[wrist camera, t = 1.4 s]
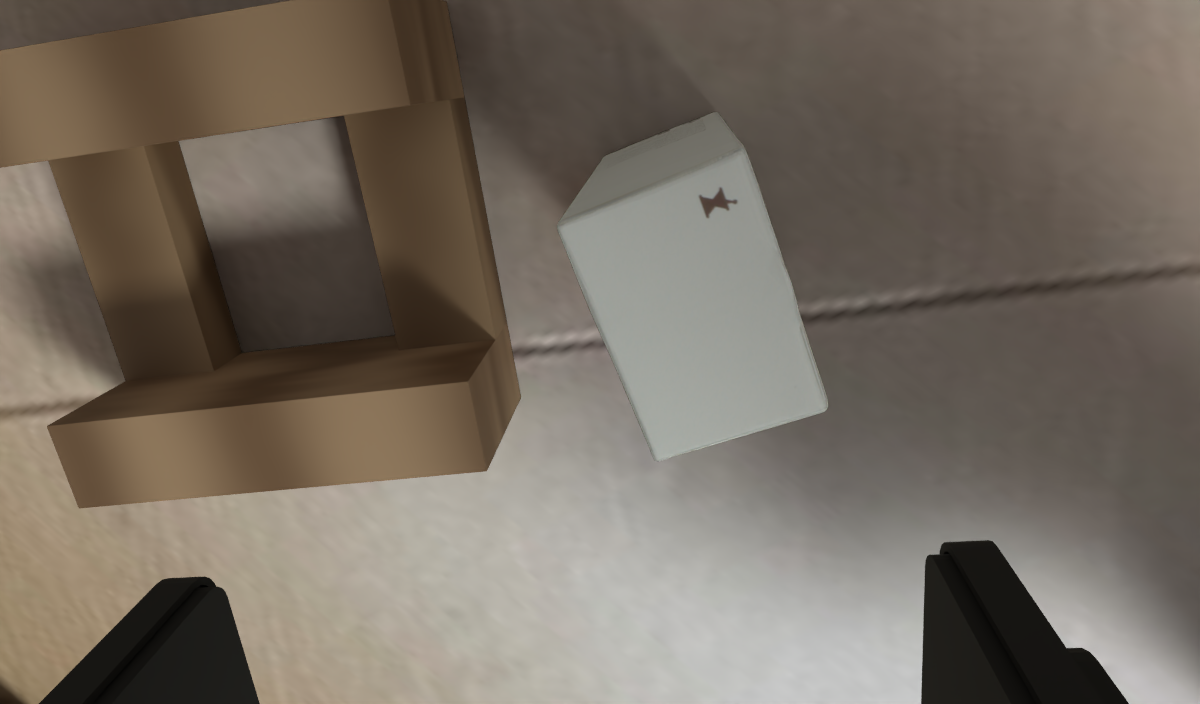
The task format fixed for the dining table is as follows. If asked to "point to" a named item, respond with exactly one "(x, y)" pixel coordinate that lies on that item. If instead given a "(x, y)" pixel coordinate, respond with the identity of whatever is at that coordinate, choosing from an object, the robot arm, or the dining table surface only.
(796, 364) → the skincare box
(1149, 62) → the dining table surface
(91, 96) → the socket
